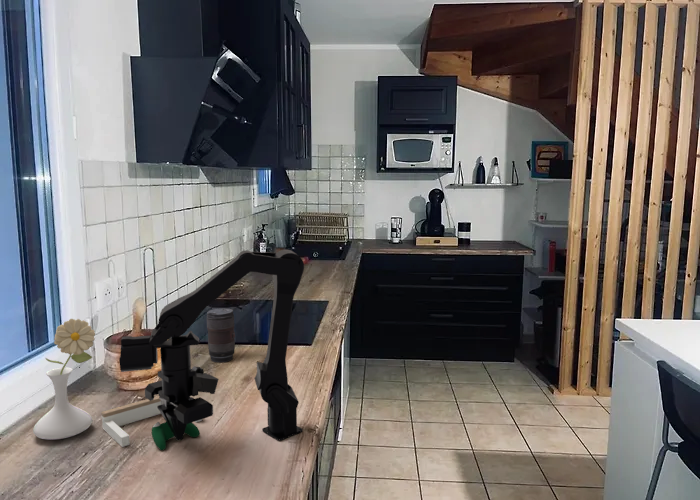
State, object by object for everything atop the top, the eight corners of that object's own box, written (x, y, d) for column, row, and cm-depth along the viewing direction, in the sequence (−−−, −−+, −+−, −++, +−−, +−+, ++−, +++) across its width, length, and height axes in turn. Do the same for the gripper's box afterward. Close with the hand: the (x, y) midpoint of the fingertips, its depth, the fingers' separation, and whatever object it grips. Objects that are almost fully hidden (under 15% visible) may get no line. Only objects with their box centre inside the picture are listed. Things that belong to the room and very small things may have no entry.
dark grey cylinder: (221, 353, 171) (219, 306, 169) (240, 357, 167) (239, 309, 165) (202, 360, 164) (200, 312, 162) (222, 365, 160) (220, 315, 158)
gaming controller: (195, 441, 117) (184, 416, 120) (201, 433, 115) (190, 408, 117) (155, 457, 111) (144, 430, 113) (161, 449, 108) (150, 422, 111)
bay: (202, 420, 123) (201, 404, 123) (122, 446, 111) (121, 429, 110) (179, 405, 131) (178, 390, 131) (102, 428, 119) (101, 411, 119)
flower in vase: (30, 449, 110) (20, 330, 107) (37, 426, 120) (28, 316, 117) (100, 437, 115) (93, 323, 112) (101, 416, 125) (94, 310, 122)
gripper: (235, 368, 108) (237, 442, 110) (190, 347, 122) (193, 414, 124) (183, 382, 101) (187, 461, 103) (142, 359, 114) (145, 429, 116)
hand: (179, 439), depth 111 cm, fingers closed
